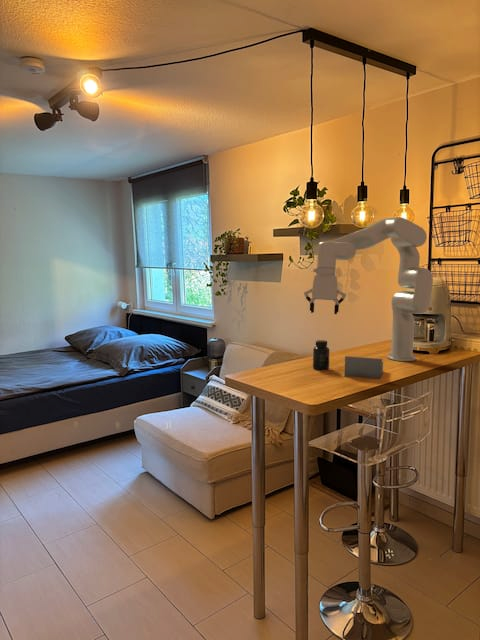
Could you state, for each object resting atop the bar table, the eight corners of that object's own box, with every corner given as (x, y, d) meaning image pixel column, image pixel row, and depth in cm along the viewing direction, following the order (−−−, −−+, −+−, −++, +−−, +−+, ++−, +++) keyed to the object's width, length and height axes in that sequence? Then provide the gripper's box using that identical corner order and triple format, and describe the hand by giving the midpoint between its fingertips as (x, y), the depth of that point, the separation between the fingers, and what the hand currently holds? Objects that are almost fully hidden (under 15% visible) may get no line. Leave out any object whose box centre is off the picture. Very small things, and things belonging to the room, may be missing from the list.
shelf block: (348, 368, 198) (349, 349, 197) (382, 371, 193) (383, 352, 192) (344, 376, 185) (345, 356, 184) (380, 379, 180) (382, 359, 179)
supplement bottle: (330, 367, 199) (331, 340, 197) (326, 371, 193) (327, 342, 191) (315, 366, 202) (315, 338, 200) (310, 369, 196) (311, 341, 194)
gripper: (303, 271, 191) (301, 312, 193) (346, 273, 185) (344, 315, 187) (306, 271, 198) (305, 311, 200) (348, 272, 192) (345, 313, 195)
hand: (323, 313), depth 194 cm, fingers open, 9 cm apart
